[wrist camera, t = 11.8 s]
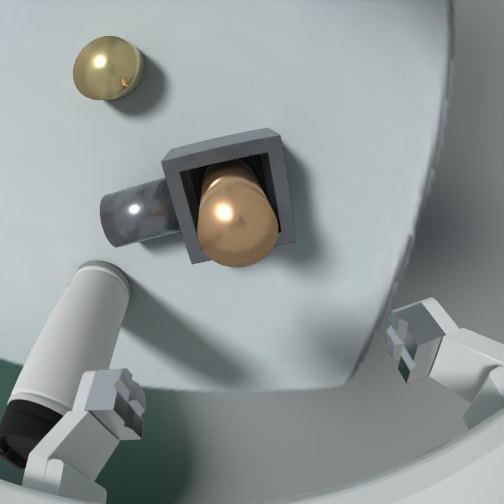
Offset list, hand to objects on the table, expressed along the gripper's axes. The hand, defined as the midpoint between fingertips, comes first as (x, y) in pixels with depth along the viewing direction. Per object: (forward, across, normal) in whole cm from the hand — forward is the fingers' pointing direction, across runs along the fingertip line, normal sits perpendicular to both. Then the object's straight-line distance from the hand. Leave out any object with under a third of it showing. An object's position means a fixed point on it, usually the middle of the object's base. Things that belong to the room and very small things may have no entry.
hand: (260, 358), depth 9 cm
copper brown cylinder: (+19, 0, +1) cm, 19 cm away
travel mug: (+19, +15, +8) cm, 26 cm away
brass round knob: (+20, +7, -11) cm, 24 cm away
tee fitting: (+19, +3, +1) cm, 19 cm away
